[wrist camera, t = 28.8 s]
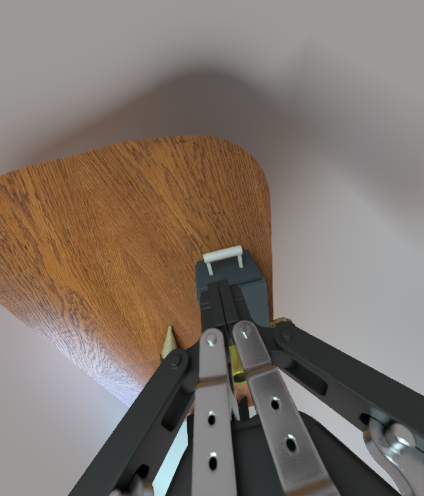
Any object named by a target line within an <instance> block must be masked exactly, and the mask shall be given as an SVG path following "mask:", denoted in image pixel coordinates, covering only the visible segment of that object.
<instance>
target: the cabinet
mask: <svg viewBox="0 0 424 496" xmlns="http://www.w3.org/2000/svg"><path fill="white" fill-rule="evenodd" d="M248 253H249V252H248ZM249 254H250V253H249ZM250 256H251V254H250ZM251 258H252V256H251ZM252 260H253V258H252ZM253 261H254V260H253ZM254 263H255V261H254ZM255 265H256V263H255ZM256 267H257V268H258V266H257V265H256ZM195 270H196V287H197V300H198V303H199V305H200V296H201V294H200V292H199V287H198V273H197V264H196V265H195ZM258 270H259V268H258ZM259 272H260V270H259ZM260 274H261V279H259V280H255V281H254V282H250V283H246V284H242V285H238V286H239V287H240V288H241V291H242V293H243V296H244V299H245V301H246V304H247V307H248V310H249V312H250V315H251V318H252V320H253V321H254V322H255V323H256V324H258V325H259V326H262V327H270V324H269V309H268V294H267V282H266V280H265V278H264V277H263V275H262V273H261V272H260ZM230 338H231V336H230Z"/></svg>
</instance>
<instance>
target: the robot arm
mask: <svg viewBox="0 0 424 496" xmlns="http://www.w3.org/2000/svg"><path fill="white" fill-rule="evenodd" d="M207 285H208V291H205V292H202V294H201V296H200V310H201V324H202V334H201V337H200V339H199V340H198V342H197V343H196V344H194V345H193V346H191V347H190V348H188V349H186V350H184V349H182V348H176V349H174V350H172V351H171V352H169V353H168V355H167V356H166V357H165V359H164V360H163V362H162V363H161V364H160V366H159V367H158V369H157V370H156V372H155V373H154V374H153V376H152V377H151V379H150V380H149V381H148V383H147V384H146V386H145V387H144V389H143V390H142V391H141V393H140V394H139V396H138V397H137V398H136V400H135V401H134V403H133V404H132V406H131V407H130V408H129V410H128V412H127V413H126V414H125V416H124V417H123V418H122V420H121V421H120V423H119V424H118V425H117V427H116V429H115V430H114V431H113V433H112V434H111V435H110V437H109V438H108V440H107V441H106V443H105V444H104V445H103V447H102V448H101V450H100V451H99V452H98V454H97V455H96V457H95V458H94V460H93V461H92V462H91V464H90V465H89V467H88V468H87V469H86V471H85V473H84V474H83V475H82V477H81V478H80V479H79V481H78V482H77V484H76V485H75V486H74V488H73V489H72V491H71V492H70V494H69V495H68V496H154V490H153V486H152V483H153V481H154V479H155V477H156V475H157V473H158V471H159V469H160V467H161V465H162V463H163V461H164V459H165V457H166V455H167V453H168V451H169V449H170V447H171V445H172V443H173V441H174V439H175V437H176V435H177V433H178V431H179V429H180V427H181V425H182V423H183V421H184V419H185V417H186V415H187V413H188V411H189V409H190V407H191V405H192V403H193V401H194V400H195V403H194V433H193V439H192V441H191V442H190V443H189V445H188V446H187V448H186V450H185V451H184V453H183V455H182V458H181V460H180V462H179V465H178V467H177V469H176V472H175V474H174V476H173V478H172V481H171V483H170V485H169V488H168V490H167V493H166V495H165V496H424V396H423V395H421V394H419V393H417V392H415V391H413V390H412V389H410V388H408V387H406V386H404V385H402V384H401V383H399V382H397V381H395V380H393V379H391V378H390V377H387V376H386V375H384V374H382V373H380V372H378V371H377V370H375V369H373V368H371V367H369V366H367V365H366V364H364V363H362V362H360V361H358V360H356V359H355V358H353V357H351V356H349V355H347V354H345V353H344V352H342V351H340V350H338V349H336V348H334V347H332V346H331V345H329V344H327V343H325V342H323V341H321V340H320V339H318V338H316V337H314V336H312V335H310V334H308V333H307V332H305V331H303V330H301V329H299V328H298V327H296V326H294V325H292V324H289V323H279V324H277V325H276V326H275V327H274V328H270V327H262V326H259V325H258V324H256V323H255V322H254V321H253V320H252V318H251V315H250V312H249V310H248V307H247V304H246V301H245V299H244V296H243V293H242V291H241V288H240V287H239V286H238V285H237V284H232V285H229V283H228V280H227V278H226V279H222V280H218V283H217V281H215V282H211V283H207ZM218 285H219V286H218ZM230 336H231V338H230ZM231 339H232V342H231ZM232 343H233V346H234V345H236V347H237V351H238V355H239V358H240V361H241V365H242V368H243V371H244V374H245V377H246V380H247V384H248V387H249V390H250V393H251V396H252V400H253V403H254V406H255V410H256V413H257V415H255V416H253V417H252V418H250V419H249V420H247V421H240V417H239V410H238V405H237V400H236V394H235V386H234V378H233V370H232V363H231V354H230V349H229V347H230V346H232ZM277 367H278V368H279V369H280V370H282V371H283V372H284V373H285V374H287V375H288V376H289V377H291V378H292V379H293V380H295V381H296V382H297V383H299V384H300V385H301V386H303V387H304V388H305V389H307V390H308V391H309V392H311V393H312V394H313V395H314V396H316V397H317V398H319V399H320V400H321V401H322V402H324V403H325V404H327V405H328V406H329V407H330V408H332V409H333V410H334V411H336V412H337V413H338V414H340V415H341V416H342V417H344V418H345V419H346V420H347V421H349V422H350V423H351V424H353V425H354V426H355V427H357V428H358V429H359V430H361V431H362V432H363V439H364V442H365V445H366V447H367V449H368V451H369V453H370V454H371V455H372V457H373V458H374V460H375V461H376V462H377V463H378V464H379V465H380V466H381V467H382V468H383V469H384V470H385V471H386V472H387V473H388V474H389V475H390V476H391V478H392V479H393V481H394V482H395V483H396V485H397V487H398V488H399V490H400V492H401V494H402V495H401V494H399V493H398V492H397V491H396V490H395V489H394V488H393V487H392V486H391V485H389V484H388V483H387V482H386V481H385V480H384V479H383V478H382V477H380V476H379V475H378V474H377V473H376V472H375V471H374V470H372V469H371V468H370V467H369V466H368V465H367V464H366V463H364V462H363V461H362V460H361V459H360V458H359V457H357V455H356V454H354V453H353V452H352V451H351V450H350V449H349V448H348V447H347V446H345V445H344V444H343V443H342V442H341V441H340V440H339V439H337V438H336V437H335V436H334V435H333V434H332V433H331V432H330V431H328V430H327V429H326V428H325V427H324V426H323V425H322V424H320V423H319V422H318V421H316V420H315V419H314V418H312V417H311V416H309V415H307V414H306V413H303V412H301V411H298V410H297V408H296V406H295V403H294V401H293V399H292V397H291V395H290V393H289V391H288V389H287V387H286V384H285V383H284V380H283V378H282V376H281V374H280V372H279V370H278V368H277Z"/></svg>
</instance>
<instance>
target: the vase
mask: <svg viewBox="0 0 424 496" xmlns="http://www.w3.org/2000/svg"><path fill="white" fill-rule="evenodd" d="M231 342H232V339H231ZM229 349H230V354H231V363H232V370H233V378H234V384H244V383H247V380H246V377H245V374H244V371H243V368H242V365H241V361H240V358H239V355H238V351H237V347H236V345H234V346H233V343H232V346H230V347H229Z"/></svg>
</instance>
